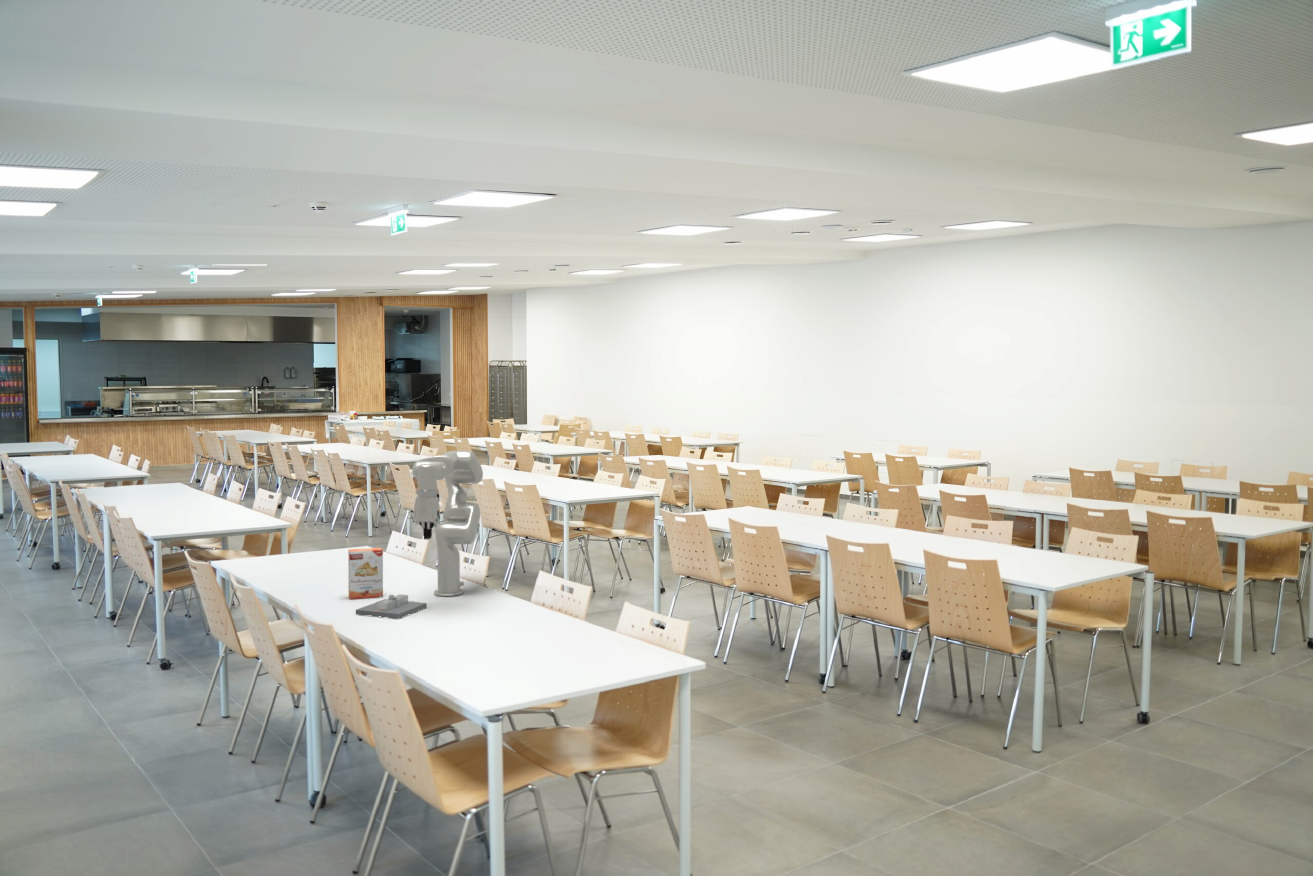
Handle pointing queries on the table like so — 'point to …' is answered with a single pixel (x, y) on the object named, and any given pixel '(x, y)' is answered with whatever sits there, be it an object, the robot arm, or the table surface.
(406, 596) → the grey long block
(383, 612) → the cover plate
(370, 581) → the cracker box
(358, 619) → the table surface
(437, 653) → the table surface
